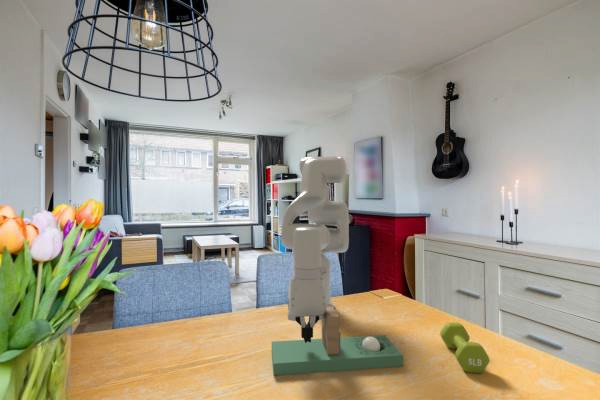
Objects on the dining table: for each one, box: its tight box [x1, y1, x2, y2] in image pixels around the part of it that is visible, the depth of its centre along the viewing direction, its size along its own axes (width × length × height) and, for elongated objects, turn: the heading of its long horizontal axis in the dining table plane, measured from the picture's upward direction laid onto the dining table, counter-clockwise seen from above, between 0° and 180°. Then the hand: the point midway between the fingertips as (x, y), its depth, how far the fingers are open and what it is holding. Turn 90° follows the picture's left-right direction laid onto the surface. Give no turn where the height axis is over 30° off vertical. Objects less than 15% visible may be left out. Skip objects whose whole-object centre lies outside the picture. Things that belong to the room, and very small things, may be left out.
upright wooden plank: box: [321, 306, 341, 355], centre depth 87 cm, size 8×4×10 cm, turn 7°
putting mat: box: [271, 334, 404, 376], centre depth 88 cm, size 12×34×3 cm, turn 97°
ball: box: [362, 337, 380, 351], centre depth 89 cm, size 5×5×5 cm
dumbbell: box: [439, 322, 490, 374], centre depth 88 cm, size 16×8×7 cm, turn 172°
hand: (307, 340), depth 86 cm, fingers closed
